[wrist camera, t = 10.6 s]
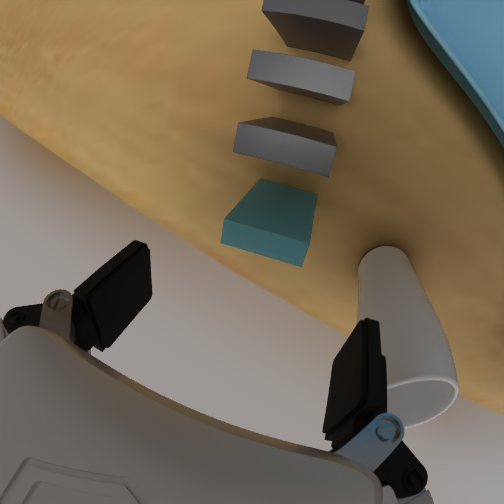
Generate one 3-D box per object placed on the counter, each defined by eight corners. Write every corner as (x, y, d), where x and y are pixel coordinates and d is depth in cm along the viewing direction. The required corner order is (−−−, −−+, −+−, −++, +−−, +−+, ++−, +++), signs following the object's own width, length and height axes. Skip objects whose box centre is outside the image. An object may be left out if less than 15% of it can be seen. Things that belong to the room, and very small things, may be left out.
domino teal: (260, 178, 23) (224, 219, 15) (316, 194, 22) (309, 244, 15) (257, 195, 24) (220, 242, 16) (311, 211, 23) (301, 266, 16)
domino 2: (281, 72, 18) (252, 49, 10) (344, 87, 17) (355, 71, 10) (278, 89, 19) (246, 78, 11) (339, 105, 18) (348, 101, 11)
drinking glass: (341, 247, 24) (339, 392, 12) (409, 227, 21) (468, 361, 9) (358, 302, 26) (358, 437, 14) (419, 285, 24) (452, 417, 11)
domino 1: (291, 30, 16) (267, -14, 8) (353, 44, 15) (368, 6, 8) (287, 46, 16) (261, 10, 9) (350, 61, 16) (364, 30, 8)
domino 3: (272, 117, 20) (238, 122, 12) (332, 132, 19) (337, 147, 12) (268, 135, 21) (233, 152, 13) (327, 151, 20) (328, 177, 13)
